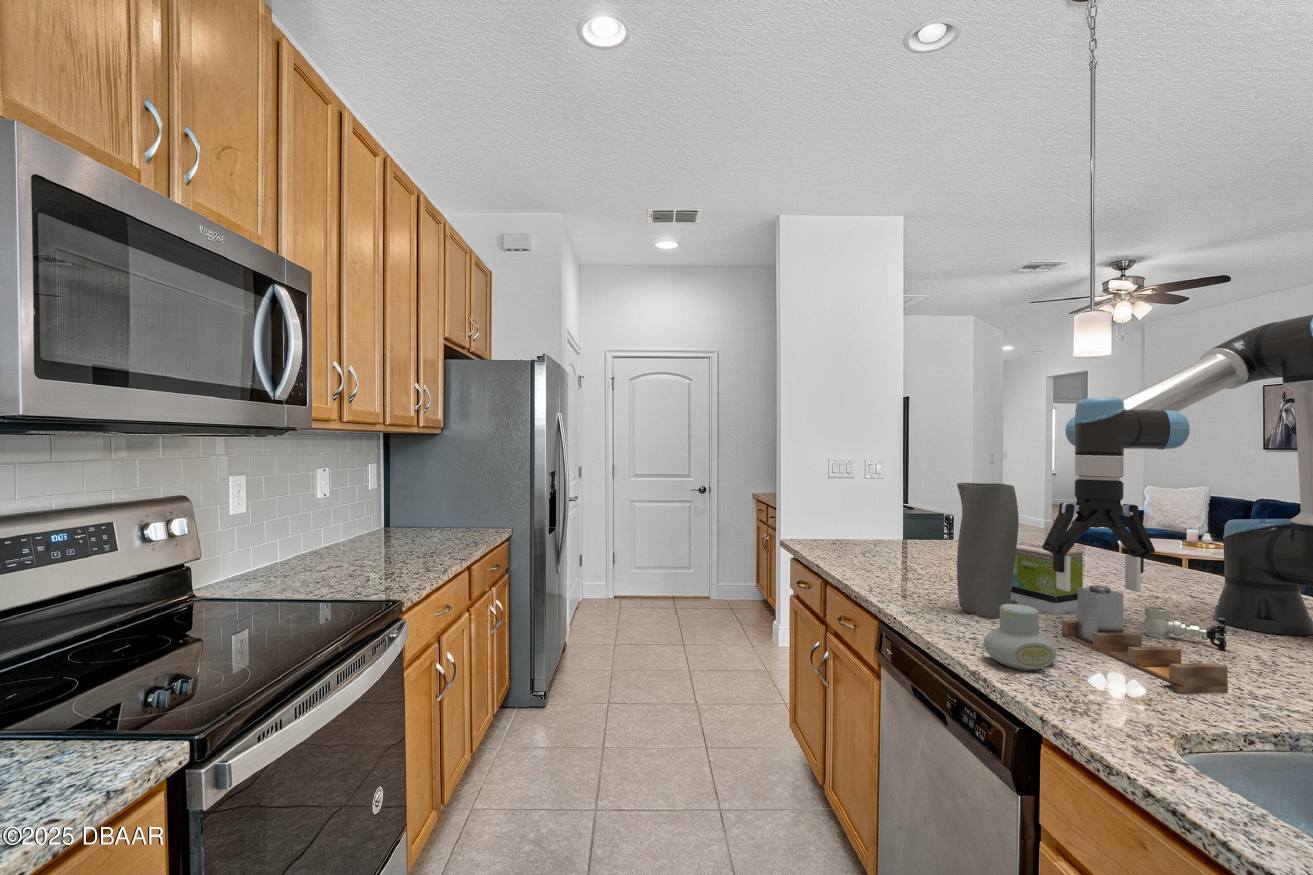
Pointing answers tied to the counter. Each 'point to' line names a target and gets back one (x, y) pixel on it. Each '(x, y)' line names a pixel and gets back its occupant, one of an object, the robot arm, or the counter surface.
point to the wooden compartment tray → (1155, 661)
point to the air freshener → (1019, 640)
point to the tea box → (1044, 581)
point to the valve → (1181, 627)
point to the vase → (986, 547)
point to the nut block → (1099, 612)
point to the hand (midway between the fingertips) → (1098, 590)
